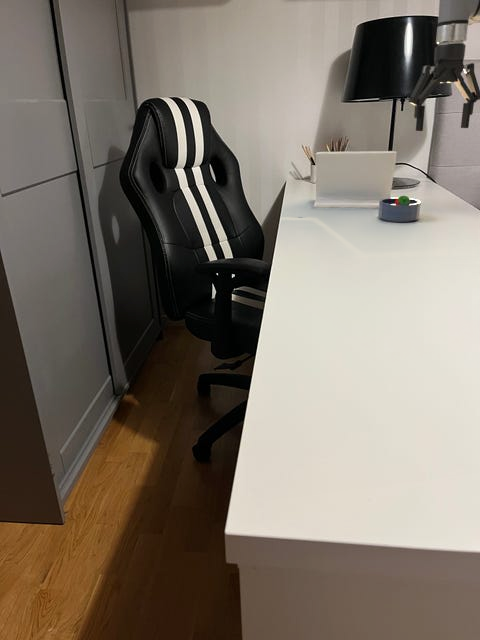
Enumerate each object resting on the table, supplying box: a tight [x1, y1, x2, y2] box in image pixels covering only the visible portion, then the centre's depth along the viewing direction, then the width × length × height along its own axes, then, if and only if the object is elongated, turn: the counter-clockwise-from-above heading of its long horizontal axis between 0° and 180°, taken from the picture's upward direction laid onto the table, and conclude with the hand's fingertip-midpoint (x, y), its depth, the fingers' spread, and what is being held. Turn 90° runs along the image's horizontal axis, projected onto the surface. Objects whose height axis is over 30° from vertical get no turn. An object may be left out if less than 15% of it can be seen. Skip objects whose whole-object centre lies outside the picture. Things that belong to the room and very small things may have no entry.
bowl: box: [377, 197, 421, 223], centre depth 144 cm, size 11×11×5 cm
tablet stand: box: [313, 150, 398, 209], centre depth 166 cm, size 18×25×17 cm
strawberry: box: [394, 195, 411, 205], centre depth 141 cm, size 5×5×7 cm
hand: (441, 129), depth 142 cm, fingers open, 13 cm apart
